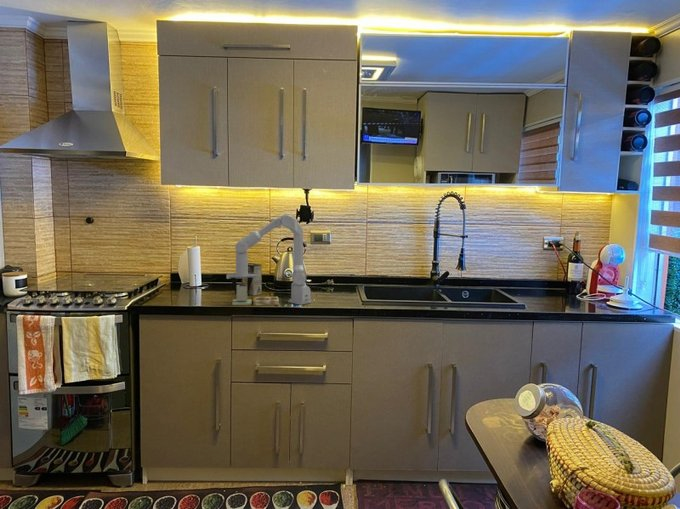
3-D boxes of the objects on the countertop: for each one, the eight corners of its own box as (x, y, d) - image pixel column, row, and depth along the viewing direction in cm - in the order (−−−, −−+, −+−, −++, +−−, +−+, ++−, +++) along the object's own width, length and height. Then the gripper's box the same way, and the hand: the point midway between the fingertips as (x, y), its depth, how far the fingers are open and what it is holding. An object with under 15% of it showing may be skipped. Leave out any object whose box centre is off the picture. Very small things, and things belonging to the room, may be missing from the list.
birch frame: (277, 300, 236) (277, 296, 236) (278, 304, 227) (278, 300, 226) (253, 301, 234) (253, 296, 234) (253, 305, 225) (253, 301, 224)
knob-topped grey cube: (247, 298, 232) (247, 283, 231) (247, 300, 227) (247, 285, 226) (237, 298, 231) (236, 284, 230) (236, 300, 226) (236, 285, 226)
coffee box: (241, 293, 253) (241, 263, 251) (249, 291, 258) (249, 262, 256) (253, 295, 247) (253, 265, 246) (262, 293, 253) (262, 264, 251)
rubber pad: (251, 300, 235) (251, 299, 235) (251, 304, 226) (251, 303, 226) (233, 301, 233) (233, 299, 233) (232, 305, 224) (232, 303, 224)
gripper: (225, 266, 222) (226, 295, 224) (257, 266, 225) (257, 294, 226) (226, 264, 229) (227, 292, 231) (257, 264, 232) (257, 291, 233)
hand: (242, 293), depth 229 cm, fingers closed on knob-topped grey cube, 5 cm apart
